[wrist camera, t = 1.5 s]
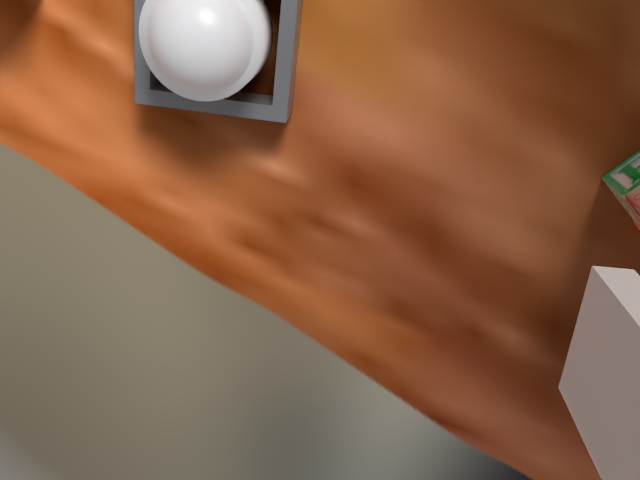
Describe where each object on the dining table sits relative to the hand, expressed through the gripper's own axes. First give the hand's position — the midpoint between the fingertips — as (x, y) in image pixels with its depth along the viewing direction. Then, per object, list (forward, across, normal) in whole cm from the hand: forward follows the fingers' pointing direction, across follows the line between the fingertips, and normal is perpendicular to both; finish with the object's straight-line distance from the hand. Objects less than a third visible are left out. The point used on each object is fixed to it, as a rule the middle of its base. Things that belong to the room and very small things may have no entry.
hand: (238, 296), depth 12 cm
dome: (+18, -4, +3) cm, 19 cm away
